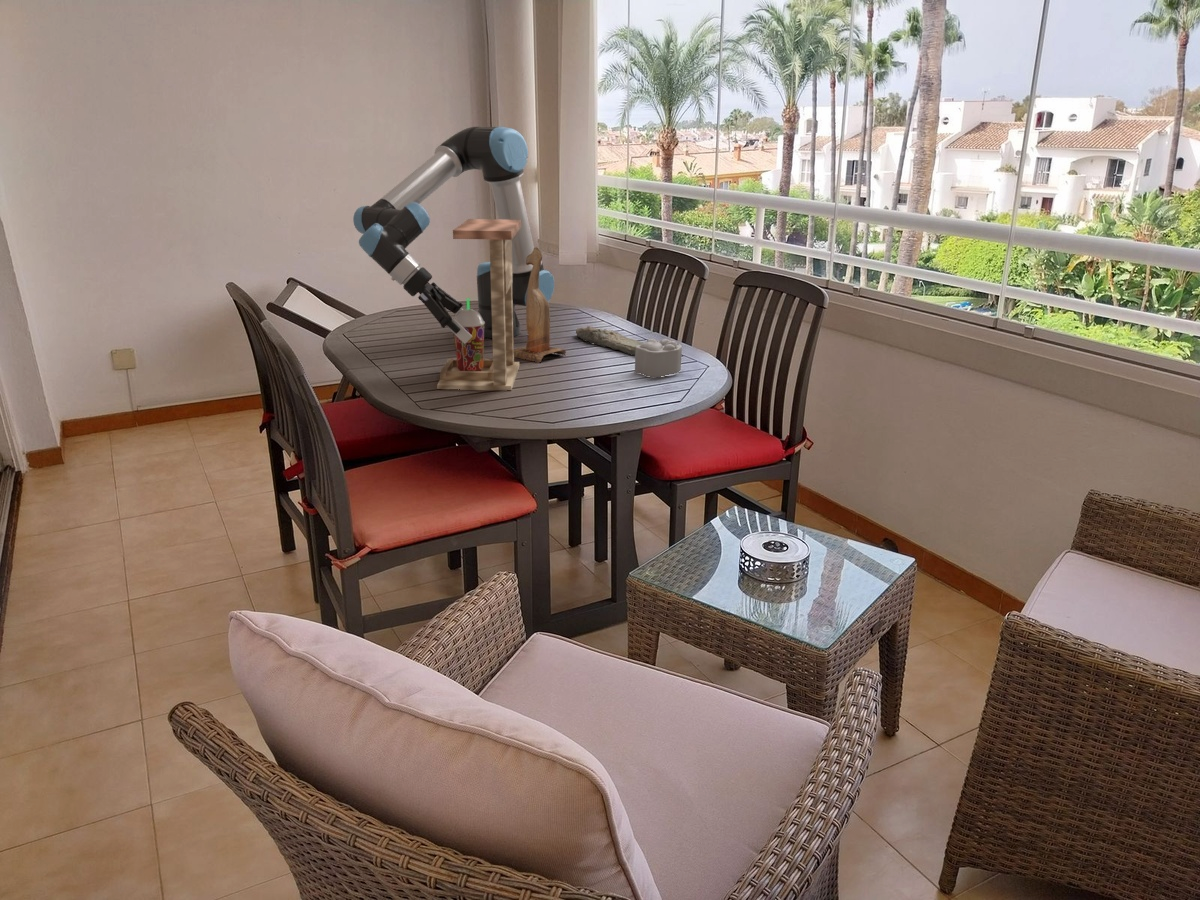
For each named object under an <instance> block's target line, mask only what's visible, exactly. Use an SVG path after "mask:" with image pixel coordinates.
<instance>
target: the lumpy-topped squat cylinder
mask: <svg viewBox="0 0 1200 900" xmlns="http://www.w3.org/2000/svg"><path fill="white" fill-rule="evenodd" d="M682 347H683V346H682V345H681V344H680V343H677V342H676V341H675V340H670V339H668V338H663V339H661V340H657V339H655V338H649V339H647V341H645V342H643V343H642V344H641V345H637V346H636V351H635V356H634V358H635V359H634V373H635V372H636V373H635V374H637V373H641V374H644V375H646V376H650V377H661V376H665V375H669V374H674V373H677V372H679V371H680V370H681V371H682V356H683V355H682V353H683V348H682ZM641 374H640V375H641ZM644 375H643V376H644ZM646 376H645V377H646Z"/></svg>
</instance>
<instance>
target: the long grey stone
mask: <svg viewBox="0 0 1200 900" xmlns="http://www.w3.org/2000/svg"><path fill="white" fill-rule="evenodd" d="M575 334H576V337H577V338H580V339H581V340H582V339H583V340H582V341H584V340H586V341H585V342H587V341H589V342H590V343H594V344H593V345H595V344H598V345H597V346H600V345H601V347H604V346H605V347H608V348H610V349H612V350H614V351H615V350H616V351H621V352H623V353H625V354H627V353H629V354H628V355H630V354H632V355H631V356H634V355H635V351H636V346H637V345H641V344H642V343H644V342H643V341H639V340H636V339H633V338H628V337H626V336H625V335H622V334H621V333H619V332H616V331H615V330H613V329H609V330H608V329H605V328H604V329H602V328H595V327H592V326H586V327H577V328H576V330H575ZM589 342H588V343H589ZM590 343H589V344H590ZM605 347H604V348H605Z"/></svg>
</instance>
